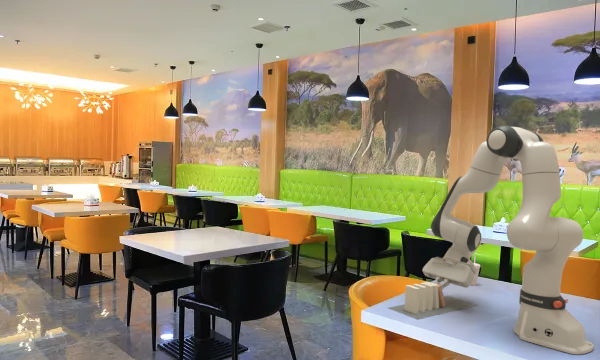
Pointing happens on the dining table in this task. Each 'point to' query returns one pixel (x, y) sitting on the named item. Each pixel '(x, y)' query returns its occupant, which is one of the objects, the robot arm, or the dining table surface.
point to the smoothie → (476, 272)
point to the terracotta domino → (440, 296)
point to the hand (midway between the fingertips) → (437, 288)
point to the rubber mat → (450, 306)
